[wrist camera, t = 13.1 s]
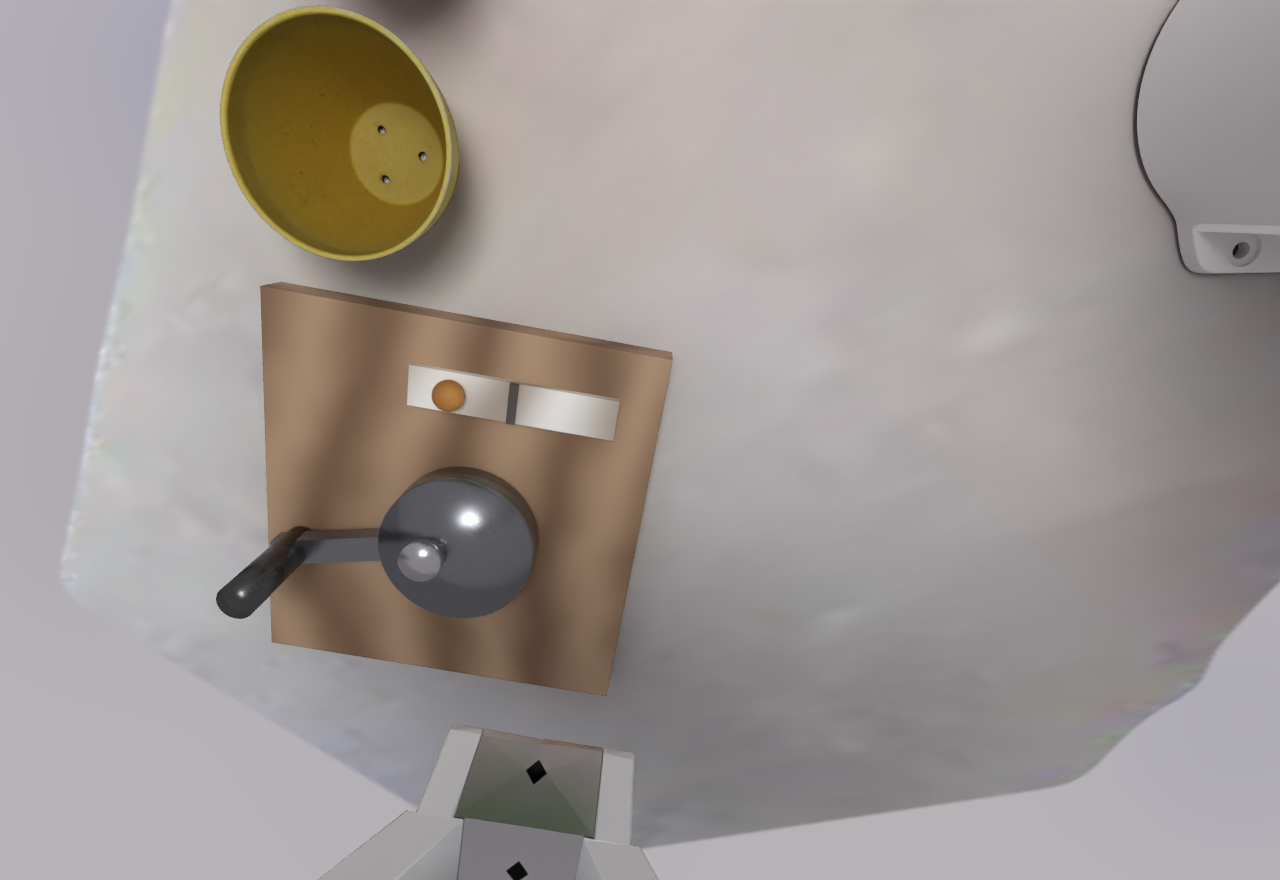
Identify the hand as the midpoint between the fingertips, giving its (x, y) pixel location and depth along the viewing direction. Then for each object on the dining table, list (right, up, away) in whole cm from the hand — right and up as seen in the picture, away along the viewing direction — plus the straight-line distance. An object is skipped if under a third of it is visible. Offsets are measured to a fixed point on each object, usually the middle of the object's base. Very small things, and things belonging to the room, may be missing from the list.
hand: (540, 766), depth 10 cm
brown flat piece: (-10, +1, +31) cm, 32 cm away
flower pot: (-11, +21, +24) cm, 34 cm away
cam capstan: (-13, -1, +29) cm, 32 cm away
